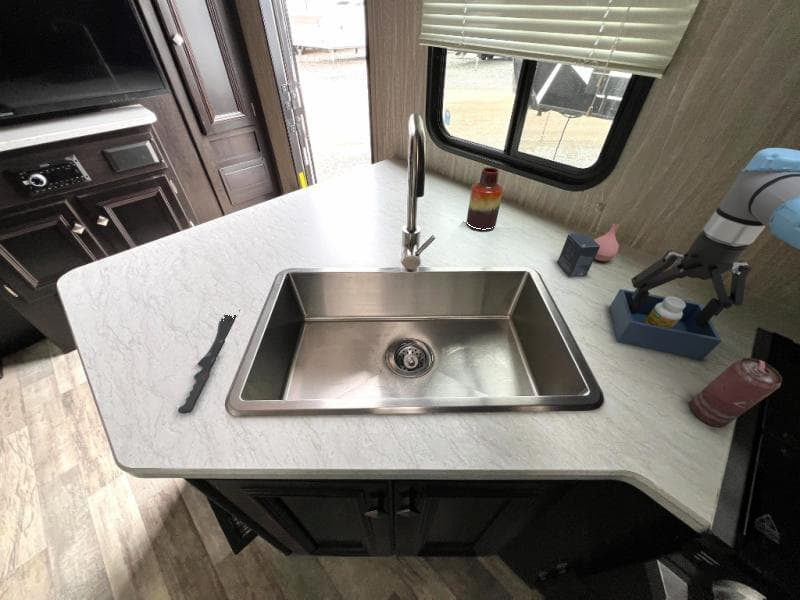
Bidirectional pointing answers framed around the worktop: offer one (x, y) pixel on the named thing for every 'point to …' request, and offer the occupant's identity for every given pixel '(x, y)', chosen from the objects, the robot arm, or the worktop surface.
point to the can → (735, 391)
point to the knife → (208, 362)
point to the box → (578, 254)
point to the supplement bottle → (666, 312)
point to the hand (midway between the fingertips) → (664, 316)
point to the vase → (485, 201)
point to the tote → (662, 328)
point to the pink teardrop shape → (607, 245)
